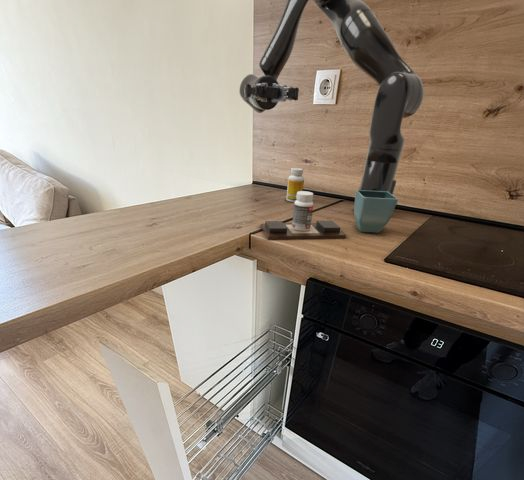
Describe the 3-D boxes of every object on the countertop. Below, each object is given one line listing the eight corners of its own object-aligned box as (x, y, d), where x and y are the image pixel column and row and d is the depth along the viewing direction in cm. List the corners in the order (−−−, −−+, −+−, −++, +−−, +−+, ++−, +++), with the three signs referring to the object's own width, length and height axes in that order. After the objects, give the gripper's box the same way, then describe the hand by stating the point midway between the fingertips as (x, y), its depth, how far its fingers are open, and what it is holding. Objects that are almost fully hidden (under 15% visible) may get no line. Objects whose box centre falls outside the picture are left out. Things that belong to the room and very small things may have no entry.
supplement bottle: (284, 198, 107) (287, 167, 101) (298, 198, 108) (302, 167, 102) (288, 202, 103) (291, 170, 96) (303, 202, 104) (307, 170, 98)
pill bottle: (309, 232, 76) (314, 195, 71) (290, 230, 77) (294, 194, 71) (310, 226, 80) (315, 191, 75) (293, 224, 80) (296, 189, 75)
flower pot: (348, 224, 86) (355, 189, 81) (378, 226, 86) (388, 191, 81) (354, 234, 79) (363, 196, 74) (387, 236, 79) (399, 199, 74)
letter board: (331, 225, 84) (332, 218, 83) (345, 238, 77) (346, 230, 76) (260, 226, 81) (260, 218, 80) (268, 239, 73) (268, 231, 72)
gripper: (240, 74, 85) (249, 69, 73) (289, 77, 88) (305, 74, 75) (240, 108, 90) (248, 109, 78) (286, 110, 92) (301, 112, 80)
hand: (276, 92), depth 77 cm, fingers open, 8 cm apart
